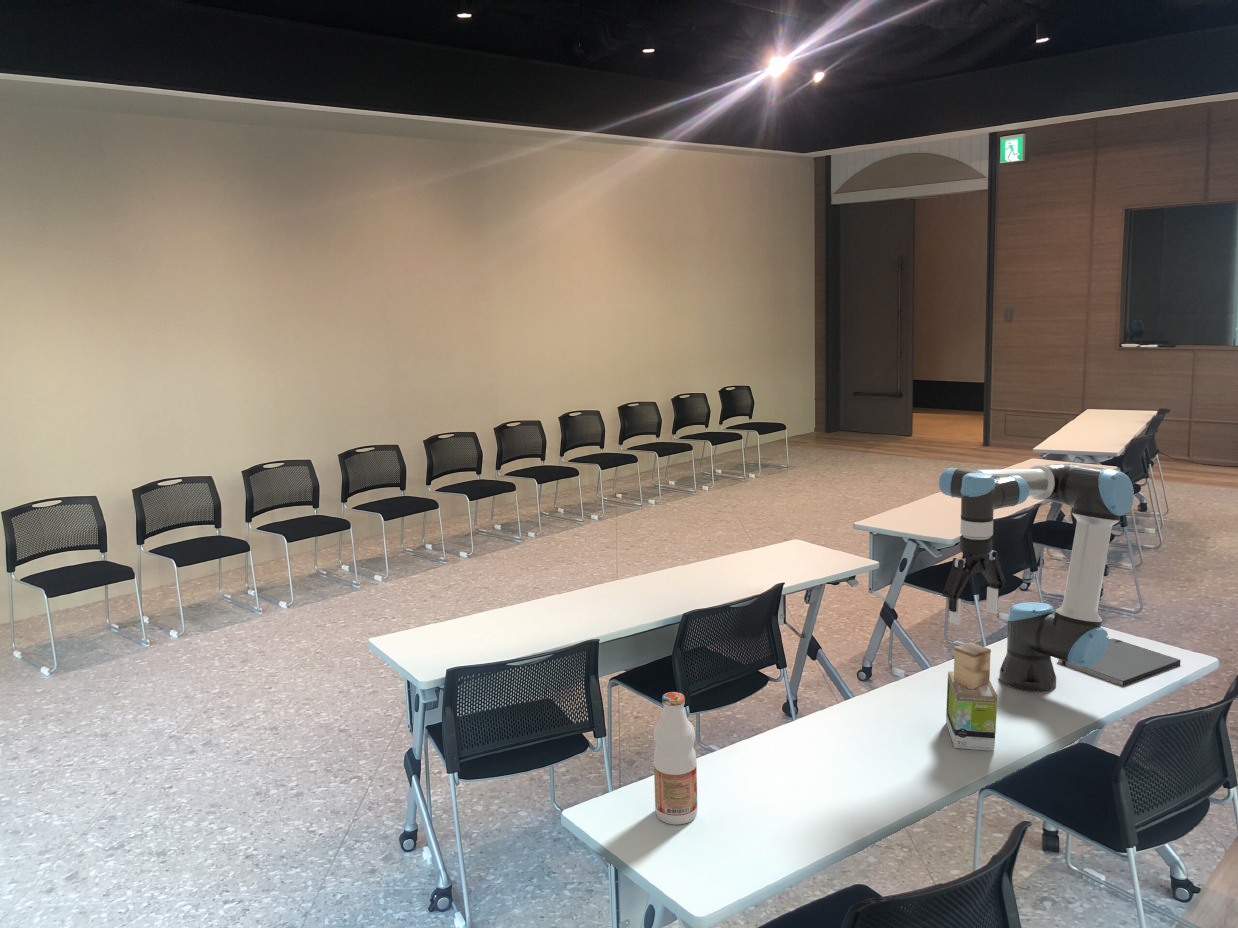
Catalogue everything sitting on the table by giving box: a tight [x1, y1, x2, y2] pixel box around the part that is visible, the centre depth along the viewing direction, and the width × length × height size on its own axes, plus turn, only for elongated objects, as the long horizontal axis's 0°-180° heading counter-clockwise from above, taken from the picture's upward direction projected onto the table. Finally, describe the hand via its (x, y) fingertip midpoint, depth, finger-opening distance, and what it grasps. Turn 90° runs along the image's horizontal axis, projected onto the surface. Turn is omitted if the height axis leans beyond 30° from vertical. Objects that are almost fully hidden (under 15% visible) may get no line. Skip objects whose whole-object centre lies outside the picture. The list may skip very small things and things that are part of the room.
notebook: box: [1057, 638, 1182, 687], centre depth 277 cm, size 22×2×28 cm
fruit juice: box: [653, 691, 698, 826], centre depth 202 cm, size 9×9×28 cm
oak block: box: [953, 642, 992, 689], centre depth 232 cm, size 6×6×9 cm
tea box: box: [945, 670, 998, 752], centre depth 234 cm, size 15×10×15 cm
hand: (973, 617), depth 230 cm, fingers open, 13 cm apart
